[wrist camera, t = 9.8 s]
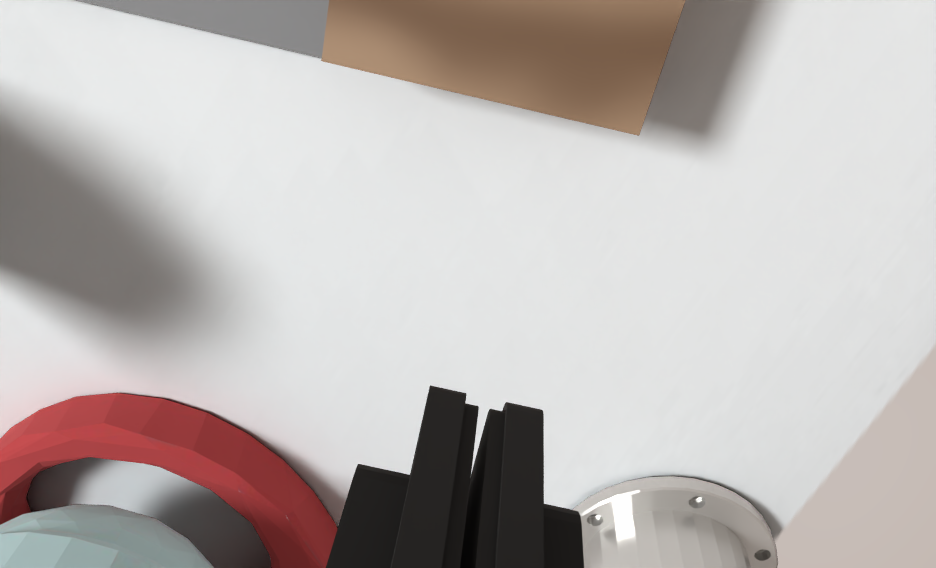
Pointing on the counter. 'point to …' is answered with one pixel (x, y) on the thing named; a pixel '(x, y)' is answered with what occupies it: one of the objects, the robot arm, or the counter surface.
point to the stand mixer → (159, 444)
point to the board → (515, 51)
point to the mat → (241, 19)
